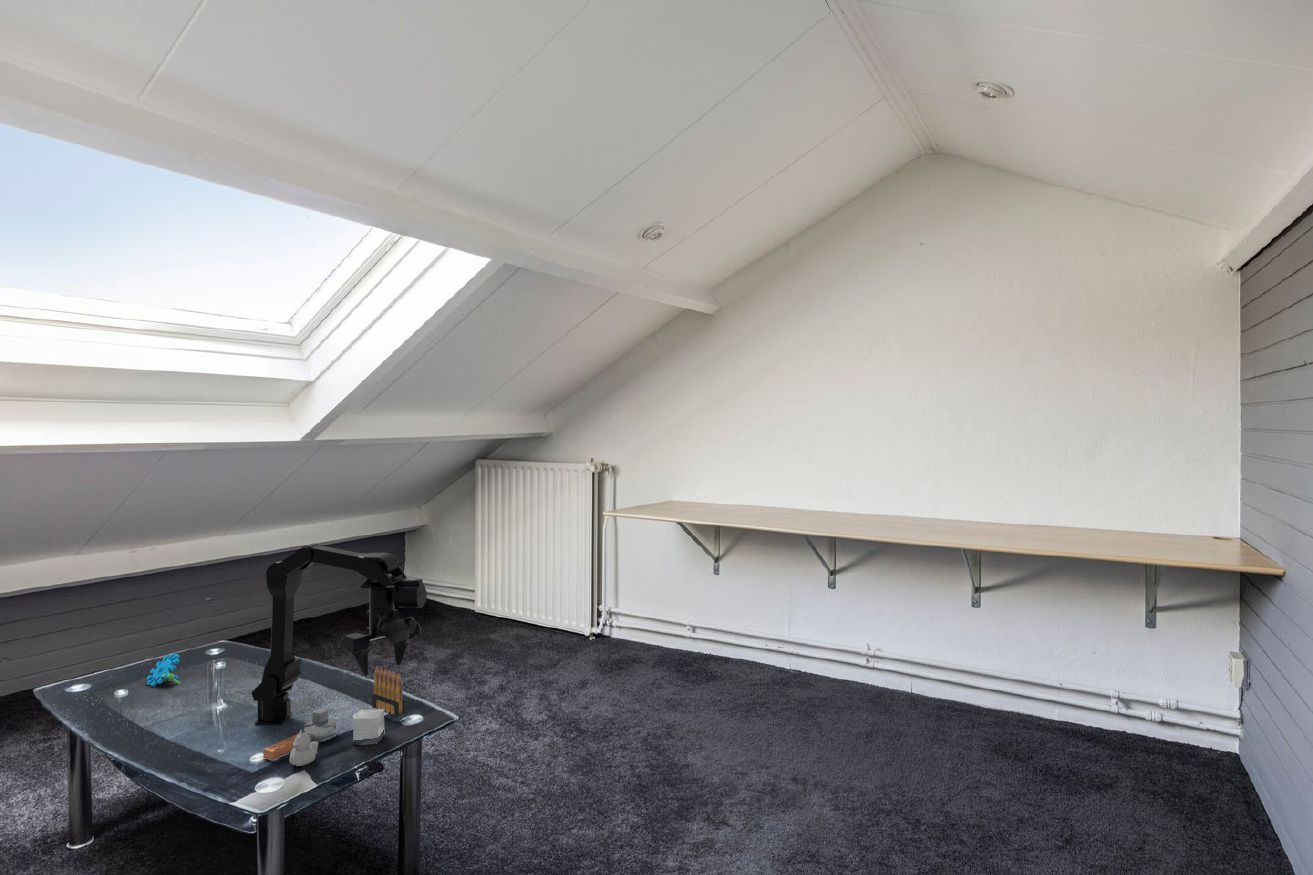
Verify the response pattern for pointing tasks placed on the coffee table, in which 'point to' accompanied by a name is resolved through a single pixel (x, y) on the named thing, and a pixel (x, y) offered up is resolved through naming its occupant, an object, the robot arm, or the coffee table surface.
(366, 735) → the small white cube
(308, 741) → the rubber duck
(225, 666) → the coffee table surface
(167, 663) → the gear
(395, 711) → the ammunition clip
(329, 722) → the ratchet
